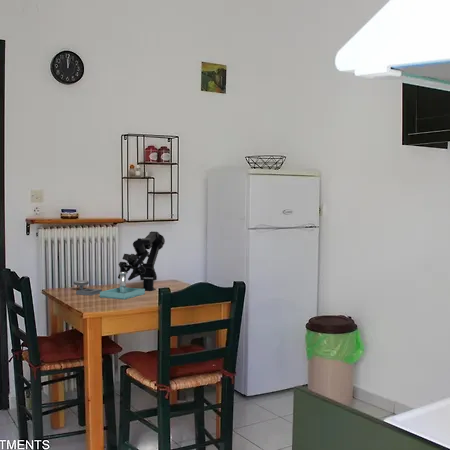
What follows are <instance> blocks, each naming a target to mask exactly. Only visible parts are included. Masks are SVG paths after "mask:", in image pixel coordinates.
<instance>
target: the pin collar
mask: <svg viewBox="0 0 450 450" xmlns="http://www.w3.org/2000/svg"><path fill="white" fill-rule="evenodd" d="M101 291H103V290H102V289H100V288H99V289H98V288H83V289H82V290H80V289H78V290H76V291H75V295H80V296H94V295H95V296H96V295H98V294H99V295H100V292H101Z"/></svg>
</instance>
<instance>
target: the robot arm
mask: <svg viewBox="0 0 450 450" xmlns="http://www.w3.org/2000/svg"><path fill="white" fill-rule="evenodd" d="M165 242H166V241H165V237H164V235H162V234H160V232H158V231H149V233H148V235H146V237H144V238H140V237H139V238H137V239H136V240H134V241H133V243H132V246H133V249H134V251H135V253H131V254H129V253H123V256H122V260H123V261H120V262H119V263H118V267H119V272H127V274H128V273H129V271H130V270H132V271H131V273H130V275H129V276H128V278H127V280H128V281H131V280H134V279H135V278H137V277H139V279H140V281H143V283H142V285H143V287H142V289H145V292H153V291H157V289H156V288H154V283H155V282H154V281H157V279H158V278H157V273H156V270H155V268H154V267H155V264H156V260H157V258H158V254H159V251H160V250H162V249H163V247H164V245H165V244H166V243H165ZM149 250H150V251H149ZM145 260H146V263H144V261H145ZM117 278H118V280H120V274H119V273H118V276H117Z"/></svg>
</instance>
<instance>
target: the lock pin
mask: <svg viewBox="0 0 450 450" xmlns="http://www.w3.org/2000/svg"><path fill="white" fill-rule="evenodd" d="M119 274H120V279H119V287H120V293H126V287H127V284H126V283H127V281H126V280H127V275H128V273H127V272H120V271H119V272H118V275H119Z"/></svg>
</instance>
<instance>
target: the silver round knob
mask: <svg viewBox="0 0 450 450" xmlns="http://www.w3.org/2000/svg"><path fill="white" fill-rule="evenodd" d="M89 284H90V281H89V280H84V279H83V280H82V279H80V280H74V281H73V285H74V286H79V290H82V289H84V286H88V285H89Z"/></svg>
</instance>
